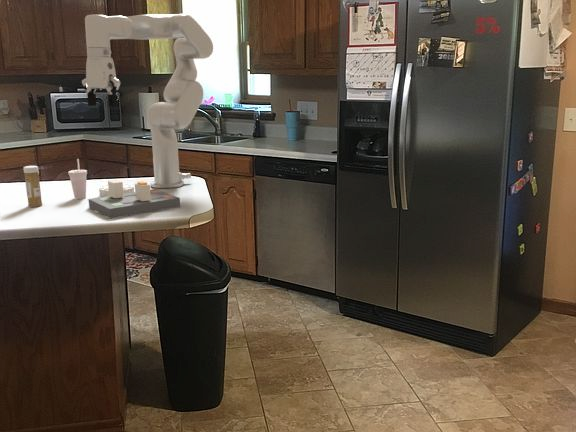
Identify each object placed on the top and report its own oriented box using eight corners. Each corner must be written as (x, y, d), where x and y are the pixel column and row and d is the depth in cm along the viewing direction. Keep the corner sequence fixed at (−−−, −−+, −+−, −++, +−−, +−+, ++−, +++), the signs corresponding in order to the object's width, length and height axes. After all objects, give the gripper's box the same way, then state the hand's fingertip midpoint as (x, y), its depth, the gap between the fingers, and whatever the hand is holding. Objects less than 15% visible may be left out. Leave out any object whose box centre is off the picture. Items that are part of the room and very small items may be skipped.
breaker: (117, 194, 208) (116, 179, 207) (123, 197, 204) (122, 182, 203) (109, 195, 206) (107, 181, 205) (115, 198, 203) (113, 183, 201)
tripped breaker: (144, 197, 203) (143, 180, 202) (151, 199, 200) (149, 182, 198) (135, 198, 202) (134, 181, 200) (142, 201, 198) (141, 184, 196)
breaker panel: (156, 197, 219) (155, 188, 218) (180, 206, 205) (179, 197, 204) (89, 207, 205) (88, 198, 204) (110, 218, 191) (109, 208, 190)
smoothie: (83, 200, 216) (80, 160, 212) (67, 199, 217) (63, 160, 214) (93, 196, 222) (89, 157, 218) (76, 195, 223) (72, 157, 220)
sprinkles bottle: (42, 206, 207) (38, 166, 204) (28, 208, 206) (23, 167, 202) (42, 203, 211) (37, 164, 208) (27, 205, 210) (22, 165, 206)
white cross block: (94, 199, 218) (94, 189, 217) (106, 192, 230) (105, 182, 229) (128, 199, 217) (127, 189, 216) (138, 192, 229) (137, 182, 228)
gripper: (126, 53, 205) (129, 106, 208) (89, 54, 213) (93, 105, 217) (108, 53, 198) (112, 107, 202) (72, 53, 207) (76, 105, 211)
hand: (102, 106), depth 210 cm, fingers open, 9 cm apart
